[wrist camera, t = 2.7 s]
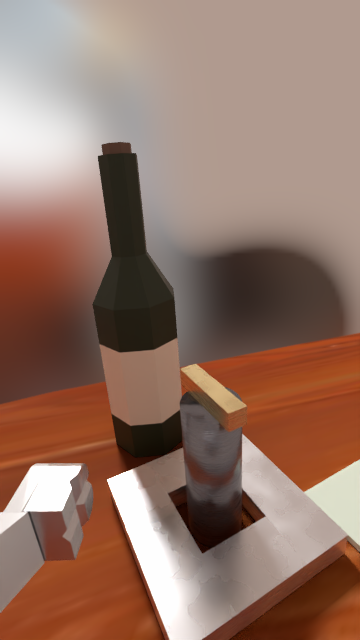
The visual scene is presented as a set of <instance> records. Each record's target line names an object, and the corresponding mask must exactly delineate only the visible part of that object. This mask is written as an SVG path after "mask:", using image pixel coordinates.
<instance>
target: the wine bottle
mask: <svg viewBox="0 0 360 640" xmlns="http://www.w3.org/2000/svg"><path fill="white" fill-rule="evenodd" d="M102 152H103V155H101V156H98V161H99V169H100V176H101V183H102V190H103V197H104V203H105V211H106V218H107V225H108V232H109V238H110V245H111V253H112V258H111V260H110V263H109V265H108V268H107V270H106V273H105V275H104V278H103V280H102V283H101V285H100V287H99V290H98V292H97V295H96V298H95V300H94V302H93V309H94V315H95V321H96V326H97V332H98V338H99V343H100V350H101V355H102V361H103V367H104V372H105V378H106V384H107V390H108V396H109V402H110V407H111V413H112V419H113V425H114V430H115V436H116V442H117V445H119V446H120V447H122V448H123V449H124V450H126V451H127V452H129V453H130V454H131V455H133V456H134V457H145V456H156V455H165V454H167V453H168V452H169V451H170V450H171V449H173V448H174V447H175V446H176V445H177V444H179V443H180V442H181V441H182V428H181V415H180V400H181V398H182V393H181V380H180V367H179V354H178V342H177V329H176V315H175V302H174V292H173V288H172V286H171V285H170V283H169V282H168V281H167V279H166V278H165V276H164V275H163V274H162V272H161V271H160V269H159V268H158V267H157V265H156V264H155V262H154V261H153V260H152V258H151V257H150V255H149V254H148V253H147V250H146V240H145V231H144V221H143V212H142V201H141V192H140V182H139V172H138V163H137V155H136V153H131V144H130V143H123V142H118V143H107V144H103V145H102Z"/></svg>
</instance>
